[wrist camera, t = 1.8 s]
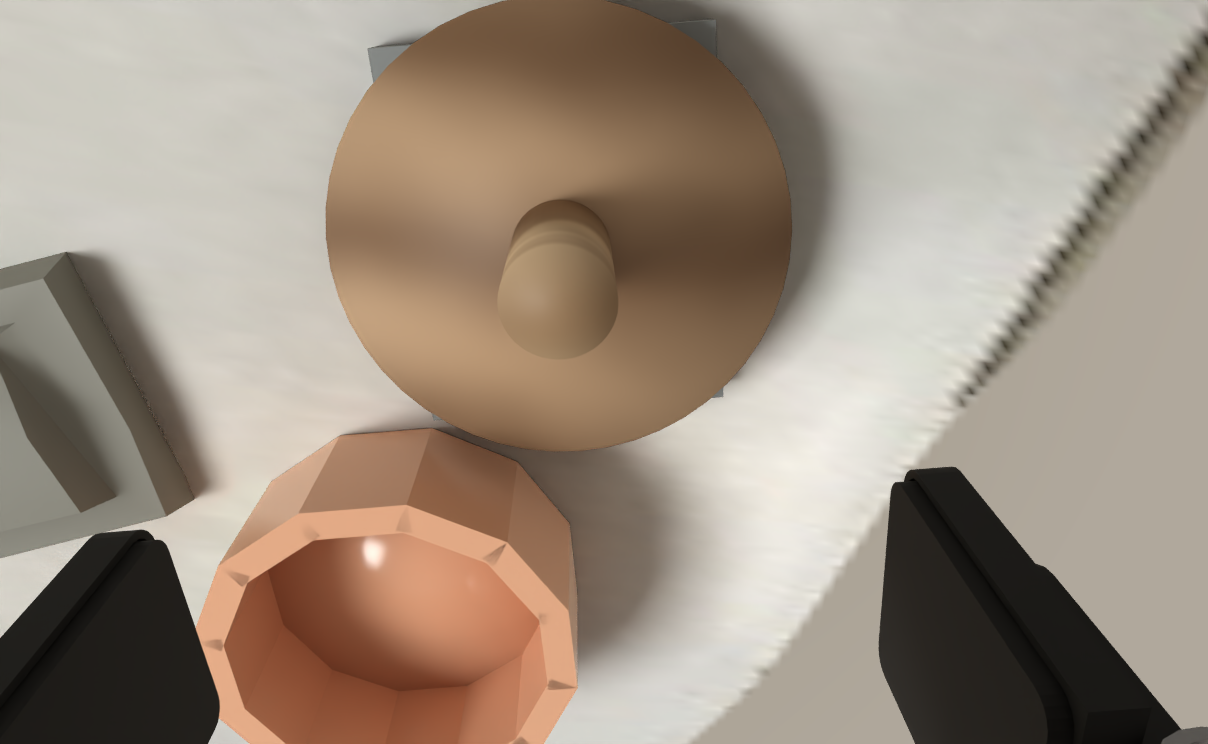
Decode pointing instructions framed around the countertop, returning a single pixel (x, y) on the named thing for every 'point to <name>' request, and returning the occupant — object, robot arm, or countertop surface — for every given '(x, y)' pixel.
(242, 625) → the bowl
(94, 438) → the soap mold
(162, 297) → the countertop surface
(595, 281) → the lid
